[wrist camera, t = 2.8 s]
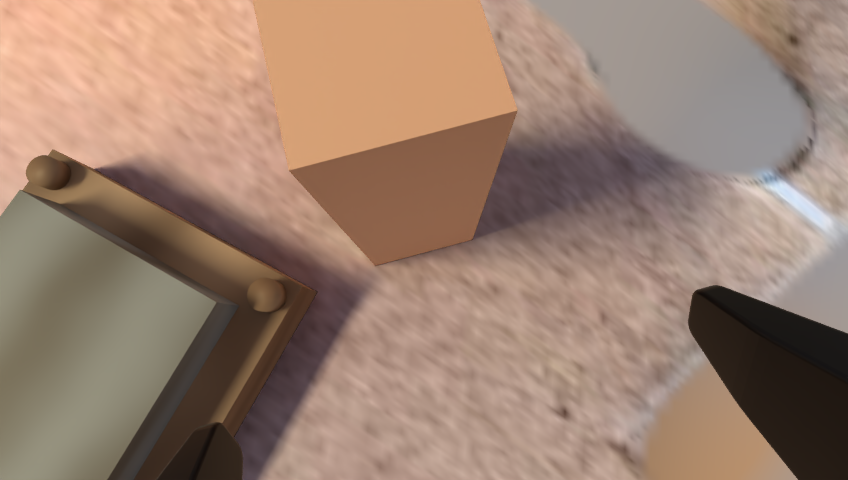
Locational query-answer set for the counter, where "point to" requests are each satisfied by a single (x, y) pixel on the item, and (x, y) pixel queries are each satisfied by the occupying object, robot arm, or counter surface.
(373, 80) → the top brick
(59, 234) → the whetstone in wooden base
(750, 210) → the counter surface
